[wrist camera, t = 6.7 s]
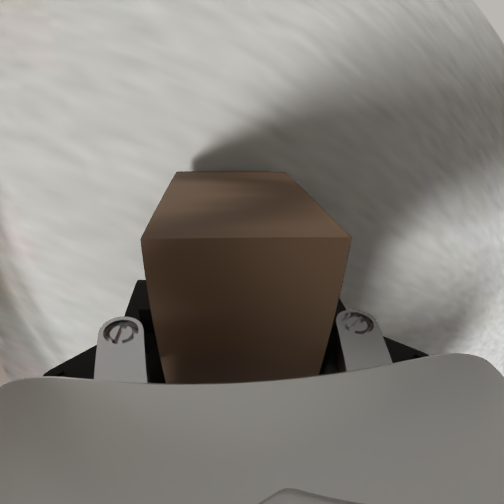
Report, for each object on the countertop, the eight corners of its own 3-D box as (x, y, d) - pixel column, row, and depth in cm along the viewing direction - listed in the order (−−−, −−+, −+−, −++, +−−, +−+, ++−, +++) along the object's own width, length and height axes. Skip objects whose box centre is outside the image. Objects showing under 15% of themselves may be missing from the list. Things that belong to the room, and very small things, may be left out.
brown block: (285, 172, 11) (351, 237, 6) (258, 434, 19) (270, 506, 14) (176, 171, 11) (140, 239, 5) (202, 437, 19) (206, 510, 13)
